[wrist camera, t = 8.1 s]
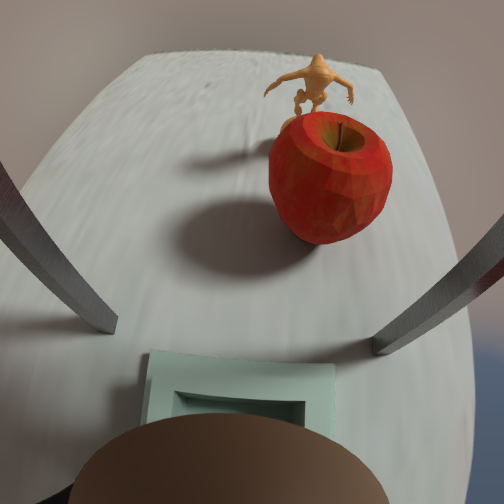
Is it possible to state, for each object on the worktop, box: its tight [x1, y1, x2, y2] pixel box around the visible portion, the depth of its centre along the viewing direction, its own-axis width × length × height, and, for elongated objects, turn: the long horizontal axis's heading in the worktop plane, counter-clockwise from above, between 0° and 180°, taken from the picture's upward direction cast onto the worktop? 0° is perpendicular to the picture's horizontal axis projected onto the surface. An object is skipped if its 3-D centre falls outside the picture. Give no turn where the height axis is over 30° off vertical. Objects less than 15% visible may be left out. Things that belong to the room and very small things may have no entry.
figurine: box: [264, 54, 354, 133], centre depth 25 cm, size 8×6×12 cm
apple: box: [269, 111, 393, 245], centre depth 20 cm, size 9×8×11 cm
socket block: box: [140, 349, 335, 441], centre depth 13 cm, size 12×12×5 cm
